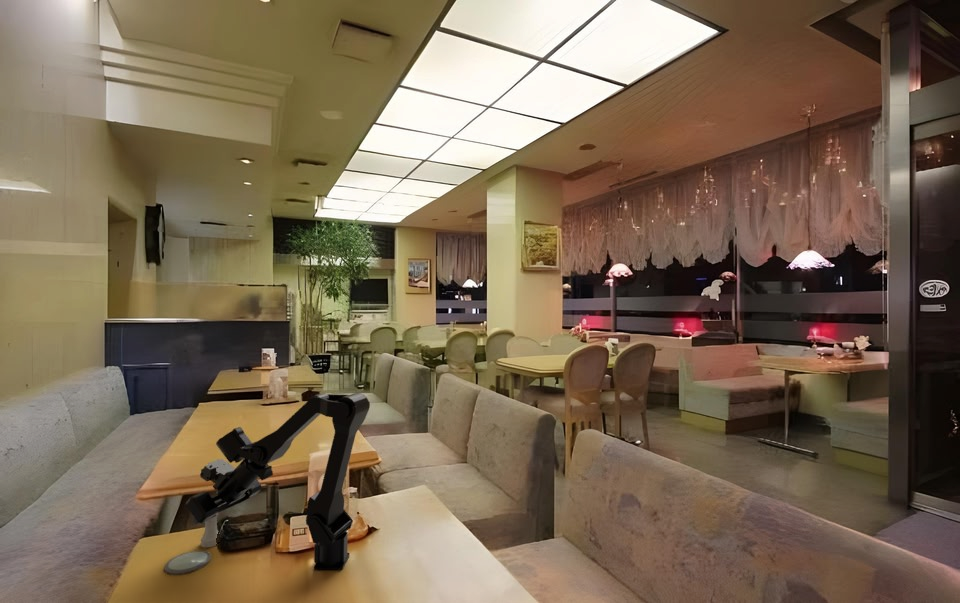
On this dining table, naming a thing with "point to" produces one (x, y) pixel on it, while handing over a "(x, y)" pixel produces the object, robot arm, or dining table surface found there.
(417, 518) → the dining table surface
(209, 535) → the rook chess piece
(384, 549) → the dining table surface
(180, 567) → the coaster
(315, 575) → the dining table surface
